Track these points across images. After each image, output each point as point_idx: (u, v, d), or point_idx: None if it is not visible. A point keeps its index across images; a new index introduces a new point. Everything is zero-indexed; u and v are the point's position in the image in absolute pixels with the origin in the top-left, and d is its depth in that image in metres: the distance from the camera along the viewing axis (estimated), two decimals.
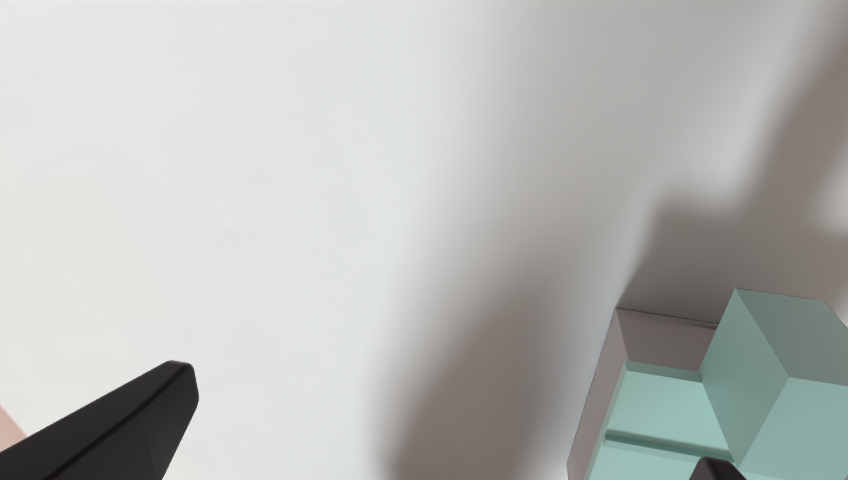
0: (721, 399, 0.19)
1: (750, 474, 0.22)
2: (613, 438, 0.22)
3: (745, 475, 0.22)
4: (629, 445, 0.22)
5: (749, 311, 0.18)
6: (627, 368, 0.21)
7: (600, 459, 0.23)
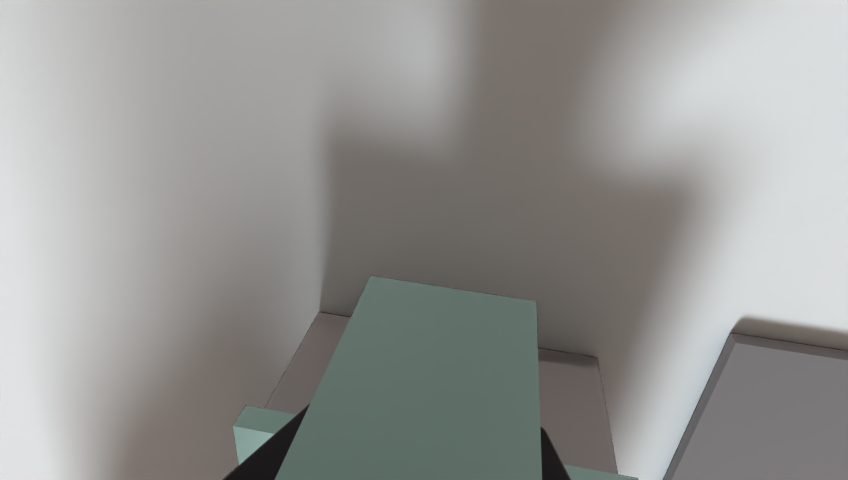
0: None
1: None
2: None
3: None
4: None
5: (350, 322, 0.08)
6: (236, 421, 0.12)
7: None
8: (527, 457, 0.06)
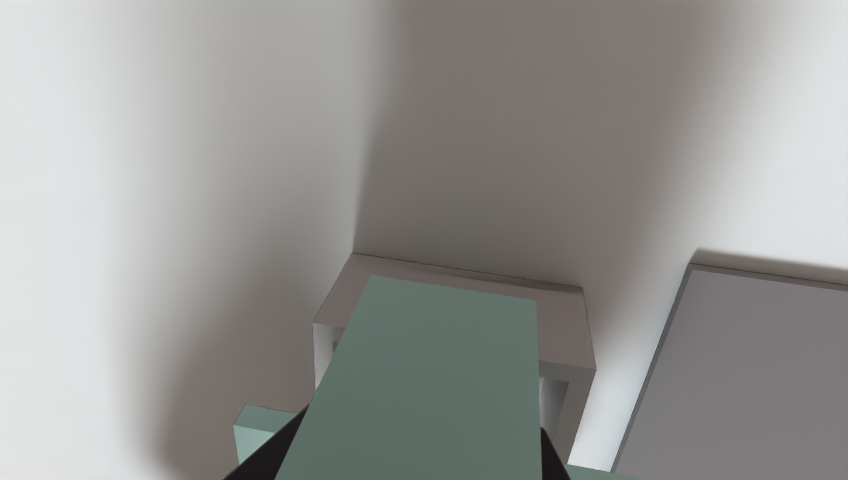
0: None
1: None
2: None
3: None
4: None
5: (350, 322, 0.08)
6: (236, 421, 0.12)
7: None
8: (526, 454, 0.06)
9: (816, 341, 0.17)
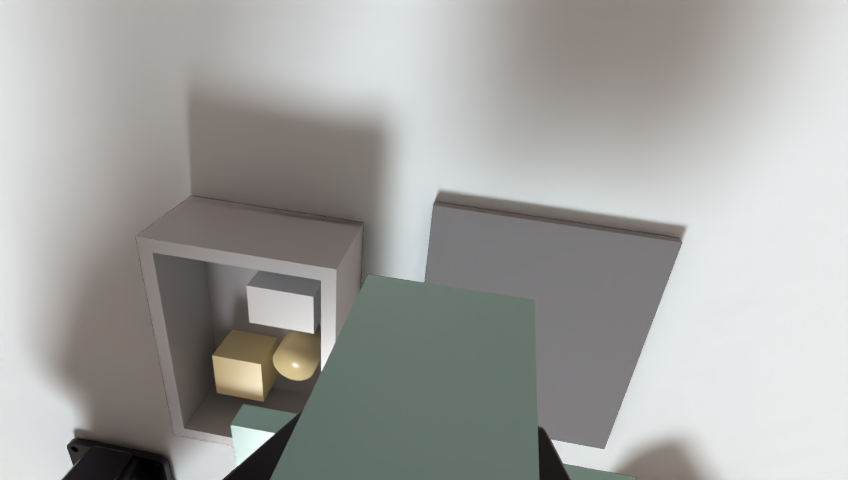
0: None
1: None
2: None
3: None
4: None
5: (347, 320, 0.08)
6: (234, 420, 0.11)
7: None
8: (525, 455, 0.06)
9: (531, 262, 0.22)
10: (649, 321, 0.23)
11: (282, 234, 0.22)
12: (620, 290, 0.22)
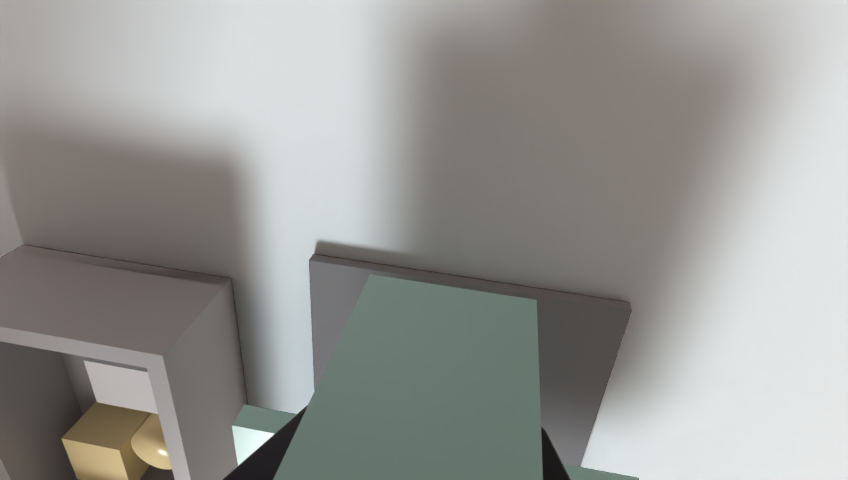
0: None
1: None
2: None
3: None
4: None
5: (349, 321, 0.08)
6: (235, 421, 0.11)
7: None
8: (527, 456, 0.06)
9: None
10: (596, 404, 0.18)
11: (114, 300, 0.17)
12: (556, 366, 0.17)
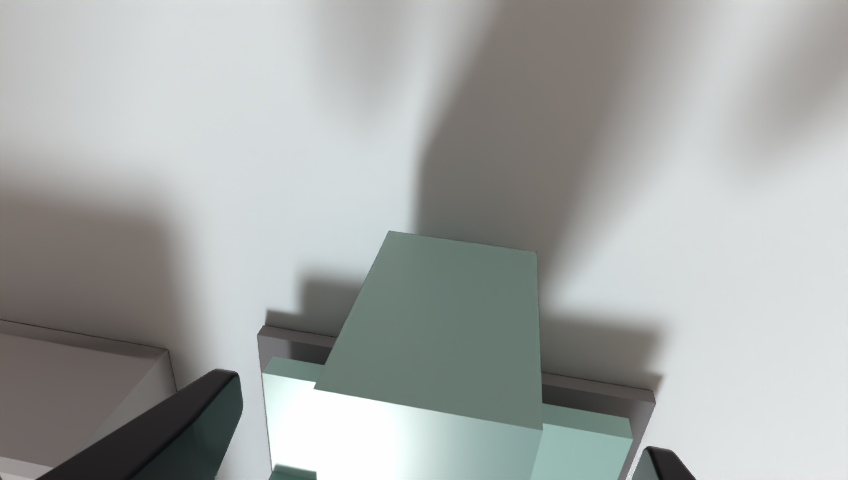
0: None
1: None
2: (286, 478, 0.14)
3: None
4: None
5: (373, 266, 0.10)
6: (265, 369, 0.13)
7: None
8: (528, 364, 0.08)
9: None
10: None
11: (16, 385, 0.14)
12: None
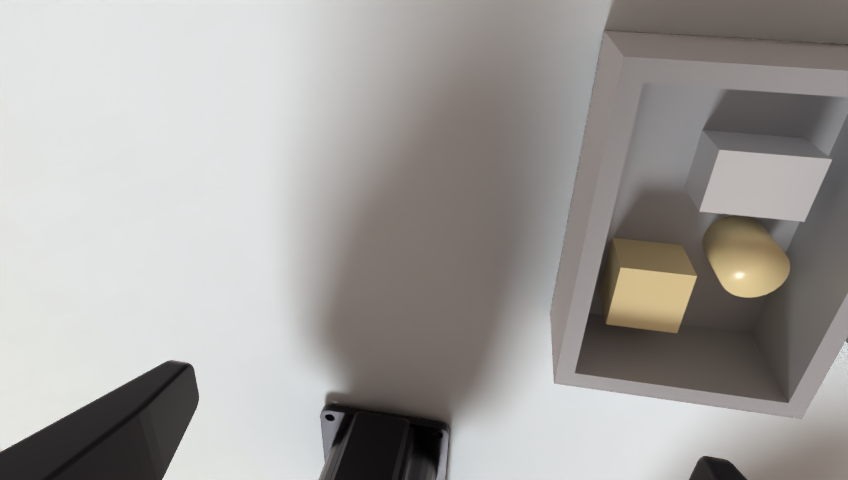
0: None
1: None
2: None
3: None
4: None
5: None
6: None
7: None
8: None
9: None
10: None
11: (815, 54, 0.14)
12: None
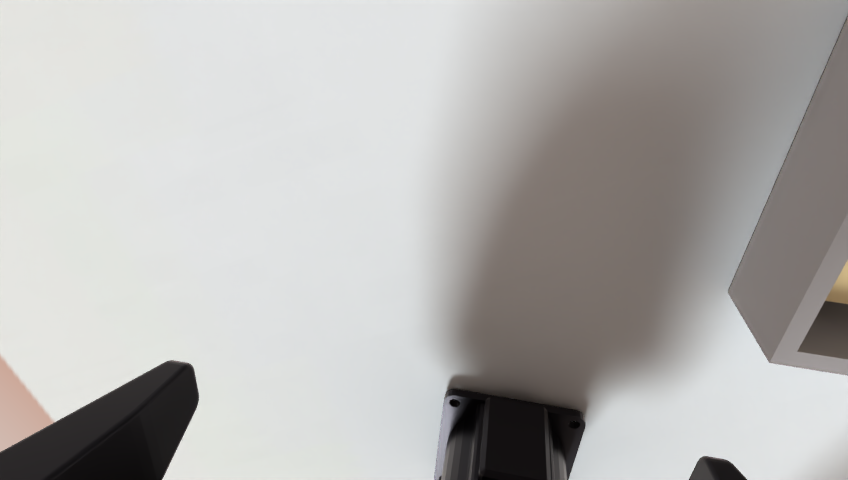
0: None
1: None
2: None
3: None
4: None
5: None
6: None
7: None
8: None
9: None
10: None
11: None
12: None
